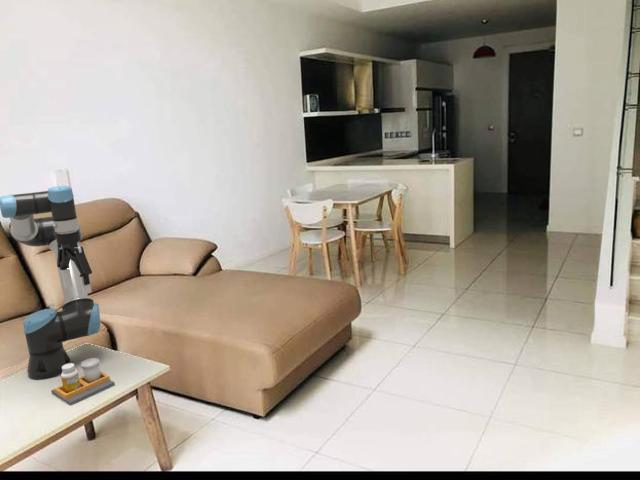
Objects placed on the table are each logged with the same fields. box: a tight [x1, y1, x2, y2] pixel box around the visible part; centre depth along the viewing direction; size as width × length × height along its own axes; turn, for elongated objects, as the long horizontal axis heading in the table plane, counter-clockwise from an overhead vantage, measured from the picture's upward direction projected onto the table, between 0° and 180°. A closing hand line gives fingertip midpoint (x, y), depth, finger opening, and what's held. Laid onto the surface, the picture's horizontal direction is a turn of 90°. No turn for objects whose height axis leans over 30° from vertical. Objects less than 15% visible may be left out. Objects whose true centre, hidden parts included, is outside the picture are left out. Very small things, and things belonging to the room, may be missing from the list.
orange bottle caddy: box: [51, 357, 116, 406], centre depth 184 cm, size 14×16×9 cm
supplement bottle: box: [60, 362, 81, 393], centre depth 181 cm, size 5×5×10 cm
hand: (77, 290), depth 184 cm, fingers open, 13 cm apart
